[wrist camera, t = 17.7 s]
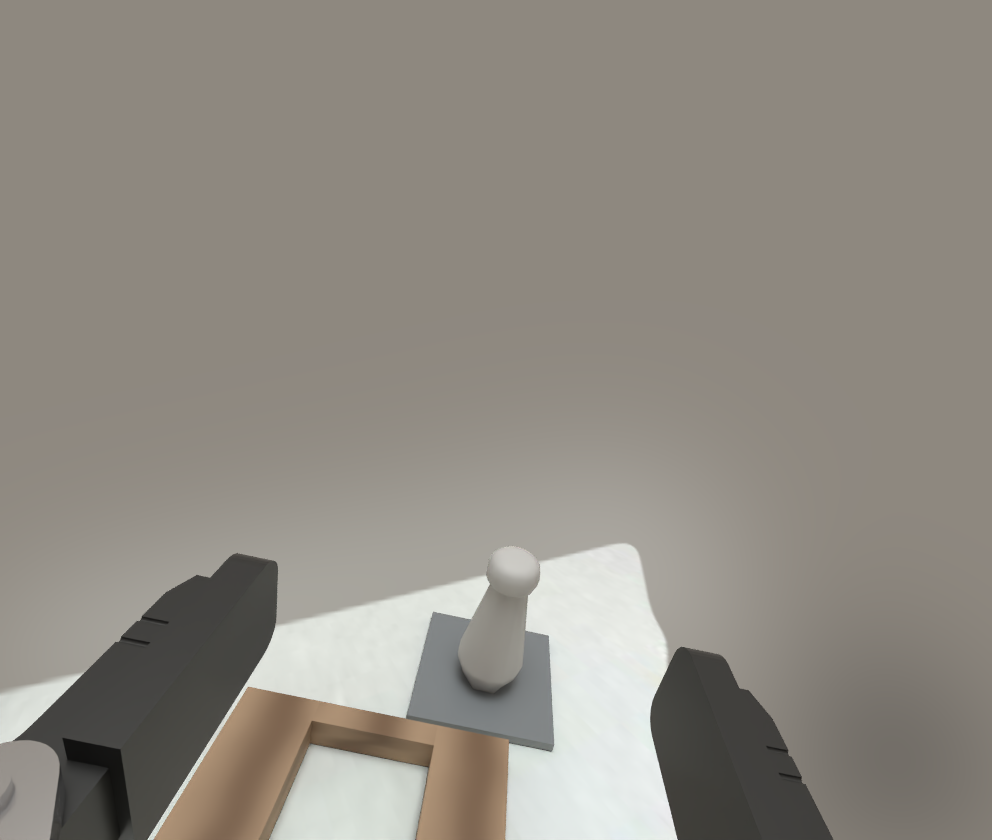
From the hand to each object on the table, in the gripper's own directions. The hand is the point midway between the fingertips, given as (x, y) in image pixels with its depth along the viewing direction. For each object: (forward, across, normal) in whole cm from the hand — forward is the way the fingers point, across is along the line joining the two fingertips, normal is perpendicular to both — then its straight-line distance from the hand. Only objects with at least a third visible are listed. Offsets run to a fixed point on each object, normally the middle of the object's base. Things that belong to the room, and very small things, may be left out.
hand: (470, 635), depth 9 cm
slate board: (+24, -4, +30) cm, 39 cm away
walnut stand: (+11, +4, +30) cm, 32 cm away
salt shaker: (+24, -4, +29) cm, 38 cm away
